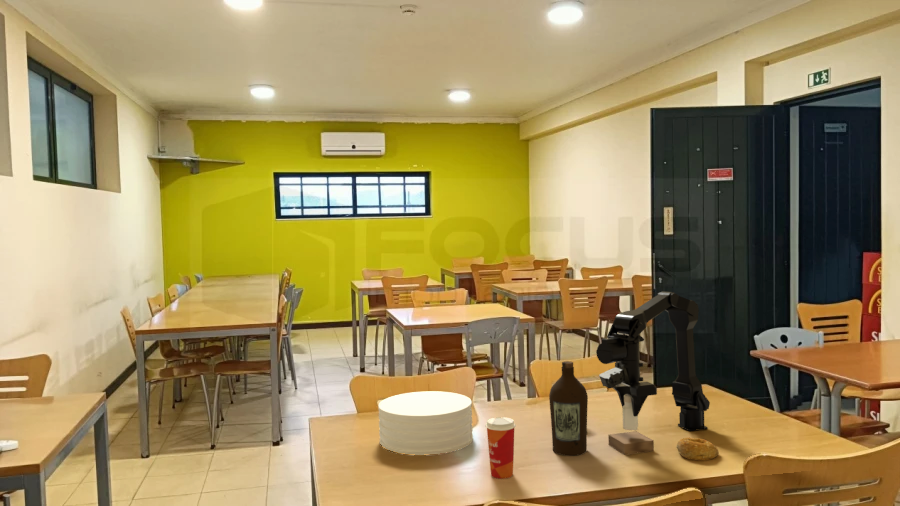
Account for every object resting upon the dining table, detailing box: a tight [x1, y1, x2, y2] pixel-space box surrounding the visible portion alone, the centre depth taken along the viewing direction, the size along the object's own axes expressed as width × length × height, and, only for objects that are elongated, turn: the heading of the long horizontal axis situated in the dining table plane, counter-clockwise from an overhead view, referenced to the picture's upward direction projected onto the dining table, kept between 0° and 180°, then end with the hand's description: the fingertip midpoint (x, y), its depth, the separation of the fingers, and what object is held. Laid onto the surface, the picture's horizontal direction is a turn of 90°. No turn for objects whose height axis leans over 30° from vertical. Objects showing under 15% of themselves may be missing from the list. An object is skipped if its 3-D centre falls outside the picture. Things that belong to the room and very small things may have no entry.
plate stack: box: [377, 390, 474, 455], centre depth 202 cm, size 28×28×12 cm
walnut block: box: [608, 430, 655, 456], centre depth 190 cm, size 9×9×3 cm
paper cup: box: [485, 416, 516, 480], centre depth 172 cm, size 8×8×14 cm
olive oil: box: [548, 360, 589, 457], centre depth 189 cm, size 11×11×25 cm
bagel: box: [676, 437, 719, 461], centre depth 182 cm, size 10×11×5 cm
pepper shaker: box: [622, 394, 639, 431], centre depth 189 cm, size 4×4×10 cm
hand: (630, 413), depth 189 cm, fingers closed on pepper shaker, 5 cm apart
